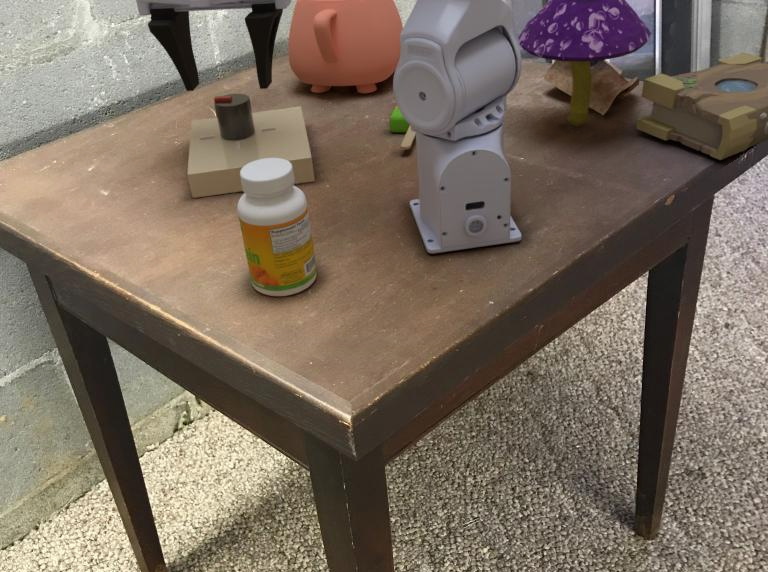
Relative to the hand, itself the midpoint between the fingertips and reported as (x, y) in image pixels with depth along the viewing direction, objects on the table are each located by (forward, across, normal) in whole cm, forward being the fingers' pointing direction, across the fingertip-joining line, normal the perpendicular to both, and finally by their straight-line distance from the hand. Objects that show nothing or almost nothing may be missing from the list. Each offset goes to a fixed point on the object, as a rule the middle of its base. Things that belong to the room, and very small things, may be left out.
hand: (229, 86), depth 87 cm
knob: (+5, 0, 0) cm, 5 cm away
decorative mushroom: (+7, +34, +6) cm, 36 cm away
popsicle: (+8, +18, +7) cm, 21 cm away
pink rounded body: (+8, +8, +23) cm, 25 cm away
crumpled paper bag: (+3, +34, +12) cm, 37 cm away
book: (+7, +49, +5) cm, 50 cm away
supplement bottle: (+8, +11, -24) cm, 28 cm away
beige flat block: (+7, +1, -1) cm, 8 cm away
